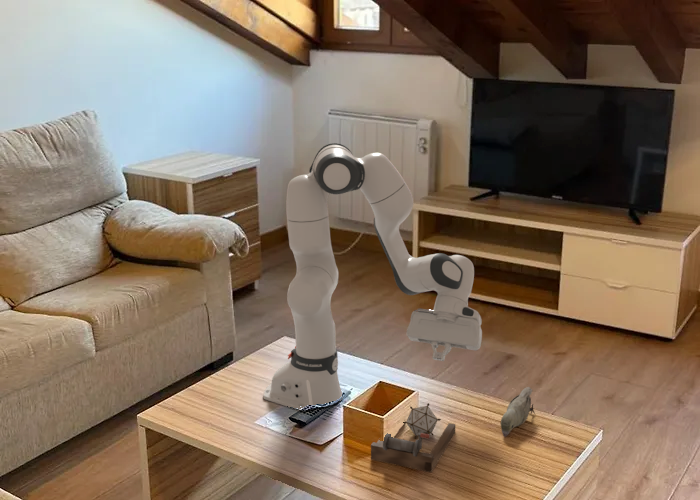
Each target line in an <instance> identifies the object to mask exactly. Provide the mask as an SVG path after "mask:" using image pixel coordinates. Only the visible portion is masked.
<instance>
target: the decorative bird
mask: <svg viewBox="0 0 700 500" xmlns="http://www.w3.org/2000/svg"><path fill="white" fill-rule="evenodd" d="M533 391H534V390H533V389H532V388H531V387H530V386H527V387H524V388H523V389H522V390H521V392H520V393H519V394H517V395H516V396H514V397H513V398H512V399H511V400H510V401H509V404H508V406H507V408H506V411H505V412H504V414H502V417H501V421H500V428H501V434H502V436H503V437H504V438H506V437H508V435H510V433H511V432H512V430H513V429H514V428H516V427H519V426H521V425H523V424H524V423H525V422H526V421H527V419H528V417H529V414H530V415H532V413H533V414H534V415H535V414H536V413H535V411H534V403H532V399H531V395H532V392H533Z"/></svg>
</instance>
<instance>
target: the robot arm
mask: <svg viewBox="0 0 700 500" xmlns="http://www.w3.org/2000/svg"><path fill="white" fill-rule="evenodd" d="M357 190H360V191H361V193H362V194H363V196H364V198H365V200H367V202H368V204H369V206H370V207H371V210H372V212H373V216H374V218H373V227H374V230H375V233H376V236H377V238H378V240H379V242H380V245H381V247H382V249H383V252H384V253H385V256H386V258H387V260H388V262H389V264H390V267H391V269H392V272H393V273H392V275H393V277H394V281H395V283H396V286H397V287H398V289H399V290H400V291H401V292H403V294H405V295H408V296H414V295H419V294H422V293H425V292H431V291H434V292H436V293H437V296H436V298H435V302H434V306H433V309H425V308H417V309H414V310H413V311H412V312H411V314H410V322H409V324H408V327H407V329H406V336H407V338H408V339H409V340H410V341H411V342H417V343H418V342H419V343H425V344H430V345H431V349H432V351H433V354H432V360H434V361H441V362H444V361H445V360H446V356H447V355H448V354H449V353H450V352H451V350H452V348H456V349H462V350H471V351H478V350H479V349H480V348H481V346H482V339H483V330H482V327H481V325H482V321H483V320H482V316H481V315H480V313H479V312H478V310H476V309H474V308H471V307H470V306H469V297H470V295H471V294H472V290H473V284H474V280H475V278H474V277H475V267H474V264H473V262H472V261H471V259H469V258H468V257H466V256H464V255H460V254H453V255H447V254H445V253H441V252H439V253H433V254H427V255H424V256H419V257H414V256H412V255H410V254H409V253H410V252H408V249H407V247H406V244H405V242H404V240H403V237H402V235H401V233H400V226H401V225H402V223H404V222H405V220H406V219H407V218H408V217H409V216H410V214H411V213H412V210H413V207H414V200H415V199H414V196H413V194H412V190H410V188H409V186H408V184H407V183H406V181H405V179H404V177H403V176H402V175H401V173H400V172H399V171H398V169H397V168H396V166H395V165H394V164H393V163H392V162H391V160H390V159H389V158H388V157H387V156H386V155H385V154H383V153H381V152H371V153H368V154H366V155H364V156H363V157H356V156H354V154H353V153H352V151H351V150H350V149H349V148H348V147H347V146H346V145H344V144H341V143H335V142H334V143H329V144H325V145H324V146H323V147H321V148H320V149H319V150H318V152H317V153H316V154H315V156H314V159H313V162H312V164H311V166H310V167H309V173H306V174H300V175H297V176H295V177H293V178H292V179H291V180H289V182H288V184H287V190H286V199H285V200H286V201H285V203H286V205H285V209H286V211H285V212H286V224H287V231H288V232H287V233H288V234H287V235H288V244H289V248H290V251H292V253H293V257H294V261H295V264H296V274H295V275H294V277H293V279H292V280H291V281H290V283H289V286H288V289H287V295H286V298H287V299H286V300H287V301H286V302H287V305H288V307H289V308H290V311H291V315H292V318H293V324H294V333H295V334H294V335H295V346H294V348H293V349H292V350H291V351H290V353H289V354H288V355H287V360H289V361H287V363H285V364H284V365H282V366H280V368H278V369H277V370H276V371H275V373H274V374H273V375H272V378H271V383H270V384H268V386H267V387H266V388H265V389H264V391H263V399H264V400H266V401H269V402H272V403H274V404H278V405H281V406H284V407H287V406H288V407H287V408H290V407H293V408H298V409H301V408H303V407H305V406H307V405H316V404H325V403H329V402H332V401H336V400H337V399H339V398H340V397H341V396H342V394H343V392H342V388H341V385H340V381H339V374H338V368H339V367H338V366H339V358H338V349H337V347H336V345H337V343H336V342H337V341H336V324H335V321H334V319H333V314H332V308H331V300H332V295H333V293H334V292H335V290H336V288H337V285H338V283H339V269H338V266H337V264H336V259H335V255H334V252H333V246H332V240H331V228H330V219H329V218H330V217H329V216H330V215H329V207H328V203H329V202H328V201H329V196H330V195H343V194H346V193H349V192H354V191H357ZM439 346H444V349H443V351H442V352H440V351H437V349H438V348H439ZM290 359H291V360H290ZM300 406H302V407H300ZM293 408H292V409H293Z"/></svg>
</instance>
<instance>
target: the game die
mask: <svg viewBox="0 0 700 500" xmlns="http://www.w3.org/2000/svg"><path fill="white" fill-rule="evenodd" d="M429 406H430V402H427V404H426V405H424V406H420V407H415V408H413V407H412V406H411V405H410V406H409V407H410V412H409V415H408V417H407V419H406V420H405V422H403V423H404V425H405V424H406V425H407V426H408V428H409V429H410V431H411V432H412V433H413V435H414V438H413V439H414V440H417V437H418V434H419V433H424V434H429V435H431V436H434V433H433V432H434V429H435V427H436V425H437V423H438V422H440V421H441V418H437V416H436V415H435V413H434V412H433V411H432V410H431V408H430V407H429Z"/></svg>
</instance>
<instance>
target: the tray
mask: <svg viewBox="0 0 700 500" xmlns="http://www.w3.org/2000/svg"><path fill="white" fill-rule="evenodd" d="M455 434H456V424H455V423H448V424H447V425H446V427H445V429H444V430H443V432H442V433H441V434H440V436H439V438H438V440H437V441H436V443H435V444H434V446H433V448H432V449H431V451H430V452H429V453H428V452H423V451H421V450H422V448H423V439H430V435H431V434H424V433H419V434H418V436H417V437H418V439H417V438H416V439H415V441H413V440H407V439H404V438H403V439H401V438H396V437H395V438H393V437H391V434H388V433H387V434H386V435H385V437H384V441H380V440H379V439H378V440H377V442H374V441H373V442H372V443H371V444H370V460H372V461H377V462H380V463H386V464H391V465H396V466H399V467H404V468H408V469H413V470H417V471H418V470H419V471H424V472H428V473H433V471H434V469H435V468H436V466H437V464H438V462H439V460H440V459H441V458H442V456H443V454H444V453H445V451H446V450H447V447H448V446H449V444H450V443H451V441H452V439H453V438H454V436H455Z"/></svg>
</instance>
